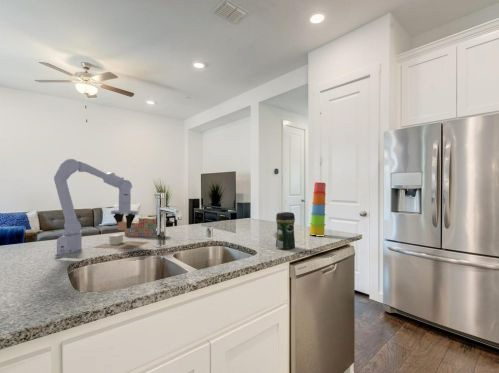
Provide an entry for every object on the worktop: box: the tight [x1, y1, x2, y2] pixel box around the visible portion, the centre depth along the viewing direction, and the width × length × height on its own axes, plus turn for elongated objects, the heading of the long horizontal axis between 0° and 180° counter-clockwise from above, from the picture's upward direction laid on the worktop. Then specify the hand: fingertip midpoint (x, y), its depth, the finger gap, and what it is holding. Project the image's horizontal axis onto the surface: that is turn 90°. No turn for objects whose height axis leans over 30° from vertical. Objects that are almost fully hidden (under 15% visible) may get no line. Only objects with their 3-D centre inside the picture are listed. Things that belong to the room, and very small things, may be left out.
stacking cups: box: [309, 181, 327, 235], centre depth 165 cm, size 10×10×35 cm
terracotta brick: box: [117, 220, 131, 231], centre depth 134 cm, size 5×5×4 cm
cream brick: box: [108, 233, 124, 244], centre depth 135 cm, size 5×5×4 cm
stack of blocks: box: [124, 216, 158, 238], centre depth 156 cm, size 21×6×12 cm, turn 84°
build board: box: [94, 240, 150, 250], centre depth 131 cm, size 15×21×1 cm
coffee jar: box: [275, 211, 296, 250], centre depth 132 cm, size 10×8×19 cm
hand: (124, 228), depth 134 cm, fingers closed on terracotta brick, 5 cm apart
